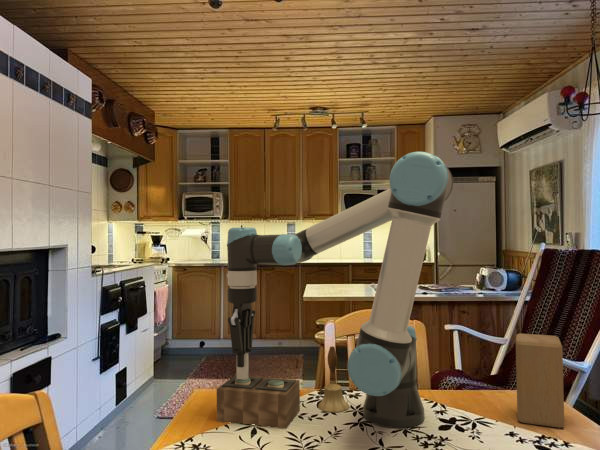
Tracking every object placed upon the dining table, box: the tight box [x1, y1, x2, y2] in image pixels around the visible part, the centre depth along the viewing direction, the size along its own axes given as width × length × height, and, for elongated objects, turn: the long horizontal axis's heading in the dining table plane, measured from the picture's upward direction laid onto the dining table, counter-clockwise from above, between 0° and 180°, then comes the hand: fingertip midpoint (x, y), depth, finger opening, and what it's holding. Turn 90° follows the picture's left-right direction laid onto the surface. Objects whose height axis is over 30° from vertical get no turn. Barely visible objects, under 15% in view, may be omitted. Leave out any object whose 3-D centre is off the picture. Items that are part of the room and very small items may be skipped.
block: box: [515, 333, 565, 429], centre depth 116 cm, size 10×10×20 cm
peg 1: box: [235, 378, 251, 385], centre depth 121 cm, size 4×4×8 cm
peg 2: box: [268, 380, 284, 388], centre depth 119 cm, size 4×4×8 cm
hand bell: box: [317, 345, 350, 413], centre depth 126 cm, size 8×8×16 cm
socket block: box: [216, 374, 301, 429], centre depth 120 cm, size 18×12×8 cm, turn 74°
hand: (242, 378), depth 121 cm, fingers closed
